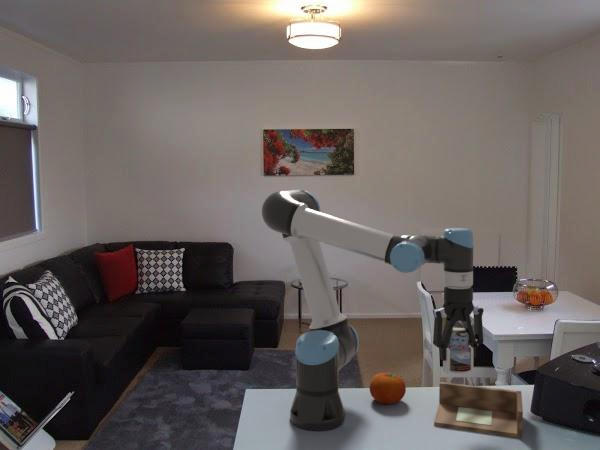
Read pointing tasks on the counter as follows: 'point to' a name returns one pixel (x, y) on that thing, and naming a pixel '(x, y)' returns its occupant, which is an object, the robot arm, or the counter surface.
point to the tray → (480, 409)
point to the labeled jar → (459, 351)
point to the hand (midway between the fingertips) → (458, 370)
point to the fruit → (387, 388)
